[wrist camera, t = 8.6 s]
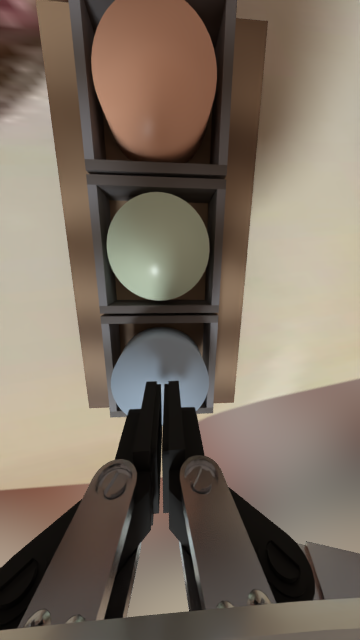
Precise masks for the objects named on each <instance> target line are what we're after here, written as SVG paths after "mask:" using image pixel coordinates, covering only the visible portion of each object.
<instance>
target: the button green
mask: <svg viewBox="0 0 360 640" xmlns="http://www.w3.org/2000/svg"><path fill="white" fill-rule="evenodd" d="M209 251H210V249H209V237H208V233H207V230H206V227H205V225H204V222H203V221H202V219H201V217H200V216H199V214H198V213H197V212H196V210H195V209H194V208H193V207H192V206H191V205H190V204H188V203H187V202H186V201H184V200H183V199H181V198H179V197H177V196H174V195H172V194H168V193H163V192H149V193H144V194H141V195H138V196H136V197H134V198H132V199H130V200H129V201H128V202H126V203H125V204H124V205H123V206H122V207H121V208H120V209H119V210H118V212H117V213H116V214H115V216H114V218H113V220H112V222H111V224H110V227H109V230H108V234H107V254H108V259H109V262H110V265H111V267H112V270H113V272H114V273H115V275H116V277H117V278H118V279H119V281H120V282H121V283H122V284H123V285H124V286H125V287H126V288H127V289H128V290H130V291H131V292H133V293H134V294H136V295H138V296H140V297H143V298H146V299H150V300H158V301H162V300H170V299H174V298H177V297H179V296H181V295H183V294H185V293H187V292H188V291H189V290H191V289H192V288H193V287H194V286H195V285H196V284H197V283H198V281H199V280H200V278H201V277H202V275H203V273H204V271H205V269H206V266H207V263H208V259H209Z"/></svg>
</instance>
